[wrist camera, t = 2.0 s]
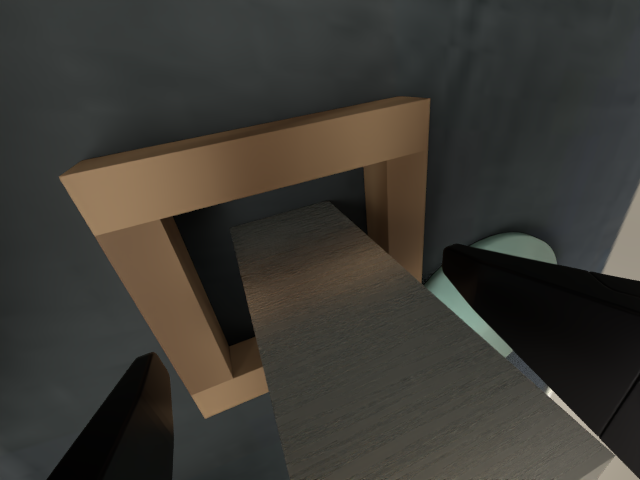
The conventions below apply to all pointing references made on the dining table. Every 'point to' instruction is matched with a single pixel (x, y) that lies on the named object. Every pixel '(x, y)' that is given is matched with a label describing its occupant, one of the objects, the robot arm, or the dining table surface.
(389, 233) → the walnut collar
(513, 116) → the dining table surface
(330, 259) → the steel bar
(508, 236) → the teal coaster
